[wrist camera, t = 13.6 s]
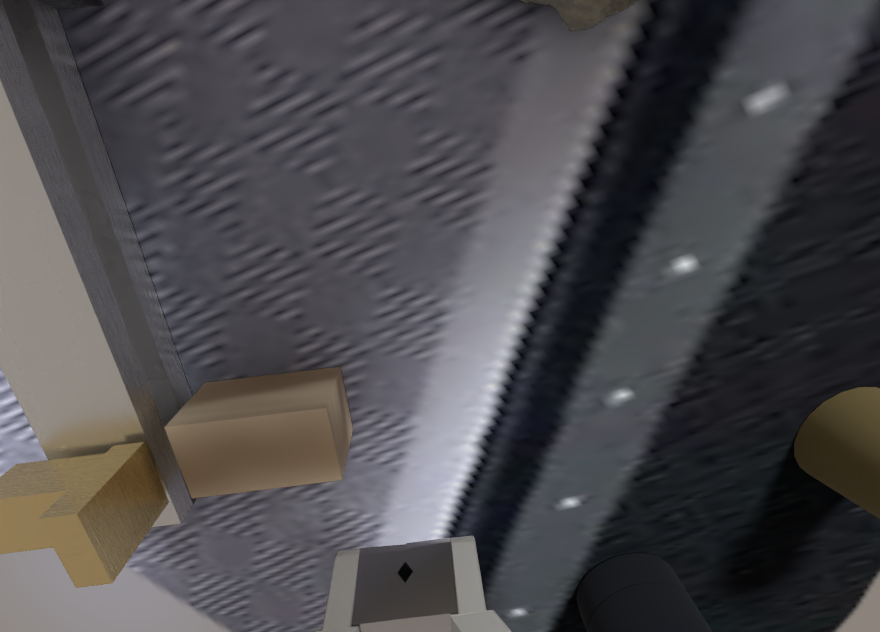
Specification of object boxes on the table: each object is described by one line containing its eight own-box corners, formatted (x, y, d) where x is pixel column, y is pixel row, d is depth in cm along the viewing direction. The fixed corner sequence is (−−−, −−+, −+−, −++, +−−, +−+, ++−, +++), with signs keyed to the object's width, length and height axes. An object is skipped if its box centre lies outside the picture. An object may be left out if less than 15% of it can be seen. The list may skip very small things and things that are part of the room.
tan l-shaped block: (13, 457, 17) (-89, 534, 13) (144, 441, 17) (76, 514, 13) (46, 517, 18) (-40, 602, 14) (169, 502, 18) (112, 583, 14)
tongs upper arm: (-177, -92, 12) (-312, -150, 10) (-8, -108, 13) (-104, -168, 10) (107, 503, 20) (67, 548, 18) (209, 490, 20) (183, 533, 18)
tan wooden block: (205, 382, 20) (164, 427, 17) (340, 366, 20) (326, 407, 17) (225, 445, 22) (191, 498, 18) (353, 429, 22) (342, 479, 18)
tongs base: (-148, -61, 14) (-410, -163, 10) (75, -82, 14) (-79, -191, 10) (106, 480, 22) (27, 563, 17) (248, 462, 22) (206, 541, 18)
